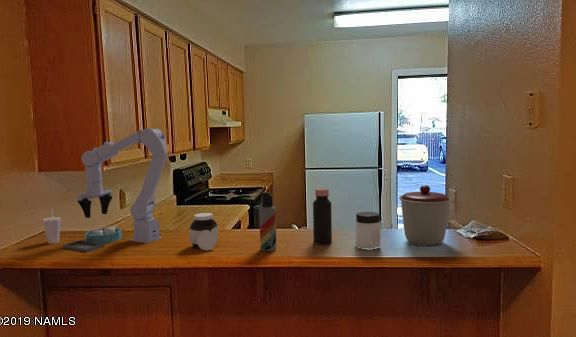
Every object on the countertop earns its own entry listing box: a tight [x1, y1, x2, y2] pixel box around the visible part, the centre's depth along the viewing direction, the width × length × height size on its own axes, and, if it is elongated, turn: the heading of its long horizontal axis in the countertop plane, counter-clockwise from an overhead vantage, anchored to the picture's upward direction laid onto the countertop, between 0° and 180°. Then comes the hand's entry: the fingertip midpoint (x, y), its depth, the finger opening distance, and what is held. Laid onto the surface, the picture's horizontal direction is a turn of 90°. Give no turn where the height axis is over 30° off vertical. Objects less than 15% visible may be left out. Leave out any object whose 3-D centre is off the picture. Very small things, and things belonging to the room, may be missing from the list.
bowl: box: [84, 227, 123, 244], centre depth 169 cm, size 13×13×4 cm
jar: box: [355, 211, 381, 249], centre depth 150 cm, size 9×8×12 cm
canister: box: [398, 184, 452, 246], centre depth 154 cm, size 18×18×21 cm
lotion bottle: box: [258, 193, 277, 252], centre depth 150 cm, size 6×6×20 cm
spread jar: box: [189, 212, 219, 251], centre depth 155 cm, size 12×11×12 cm
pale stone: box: [103, 226, 116, 235], centre depth 171 cm, size 4×4×4 cm
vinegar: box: [312, 188, 333, 245], centre depth 157 cm, size 7×7×20 cm
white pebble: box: [92, 229, 103, 235], centre depth 166 cm, size 4×4×4 cm
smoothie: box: [42, 207, 62, 244], centre depth 165 cm, size 6×6×14 cm
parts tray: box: [62, 239, 106, 253], centre depth 157 cm, size 13×7×2 cm, turn 62°
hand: (96, 215), depth 168 cm, fingers open, 7 cm apart
